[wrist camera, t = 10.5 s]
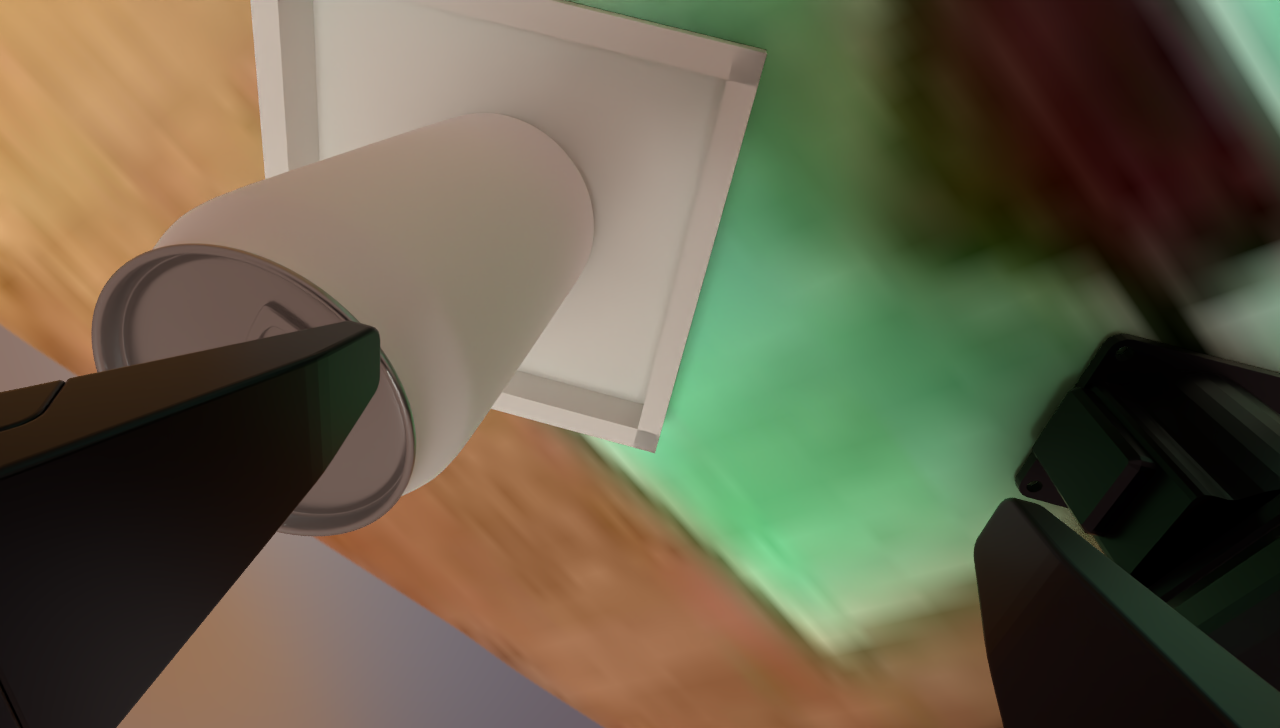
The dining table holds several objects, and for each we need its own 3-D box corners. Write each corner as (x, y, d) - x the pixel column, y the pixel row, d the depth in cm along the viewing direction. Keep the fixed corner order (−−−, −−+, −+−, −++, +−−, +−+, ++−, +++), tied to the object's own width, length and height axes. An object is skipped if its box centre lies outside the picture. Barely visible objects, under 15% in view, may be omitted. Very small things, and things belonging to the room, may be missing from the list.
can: (373, 217, 22) (23, 400, 11) (476, 61, 19) (133, 115, 8) (521, 340, 23) (330, 605, 13) (639, 212, 20) (515, 419, 10)
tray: (766, 50, 18) (766, 53, 16) (662, 419, 25) (654, 453, 23) (296, -66, 19) (244, -76, 17) (316, 325, 25) (279, 351, 23)
